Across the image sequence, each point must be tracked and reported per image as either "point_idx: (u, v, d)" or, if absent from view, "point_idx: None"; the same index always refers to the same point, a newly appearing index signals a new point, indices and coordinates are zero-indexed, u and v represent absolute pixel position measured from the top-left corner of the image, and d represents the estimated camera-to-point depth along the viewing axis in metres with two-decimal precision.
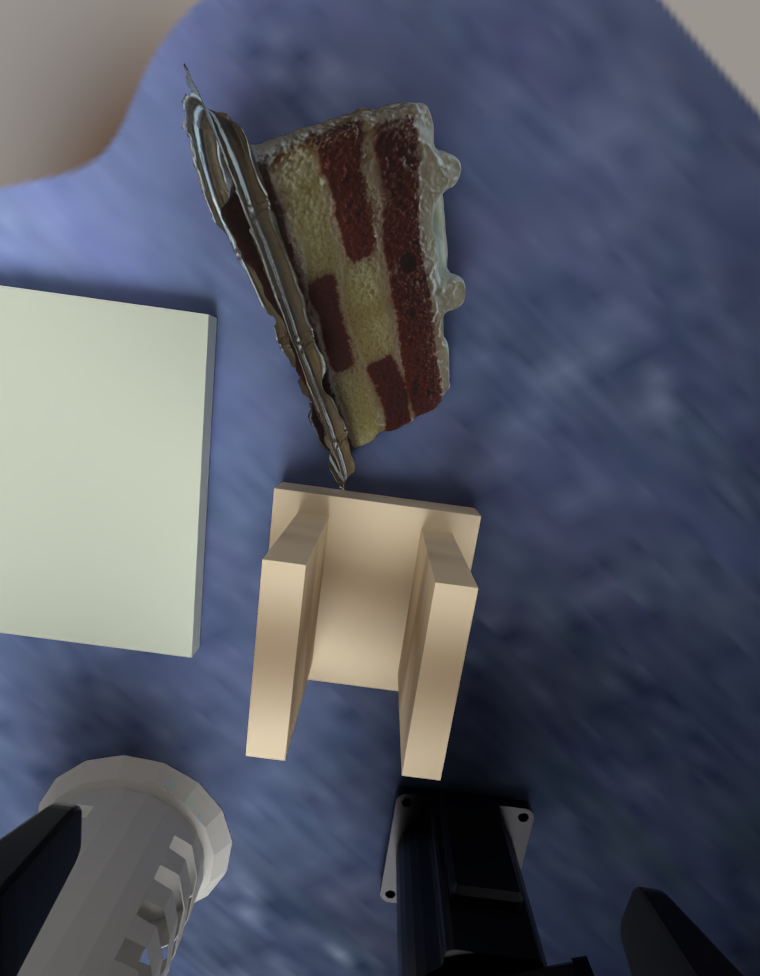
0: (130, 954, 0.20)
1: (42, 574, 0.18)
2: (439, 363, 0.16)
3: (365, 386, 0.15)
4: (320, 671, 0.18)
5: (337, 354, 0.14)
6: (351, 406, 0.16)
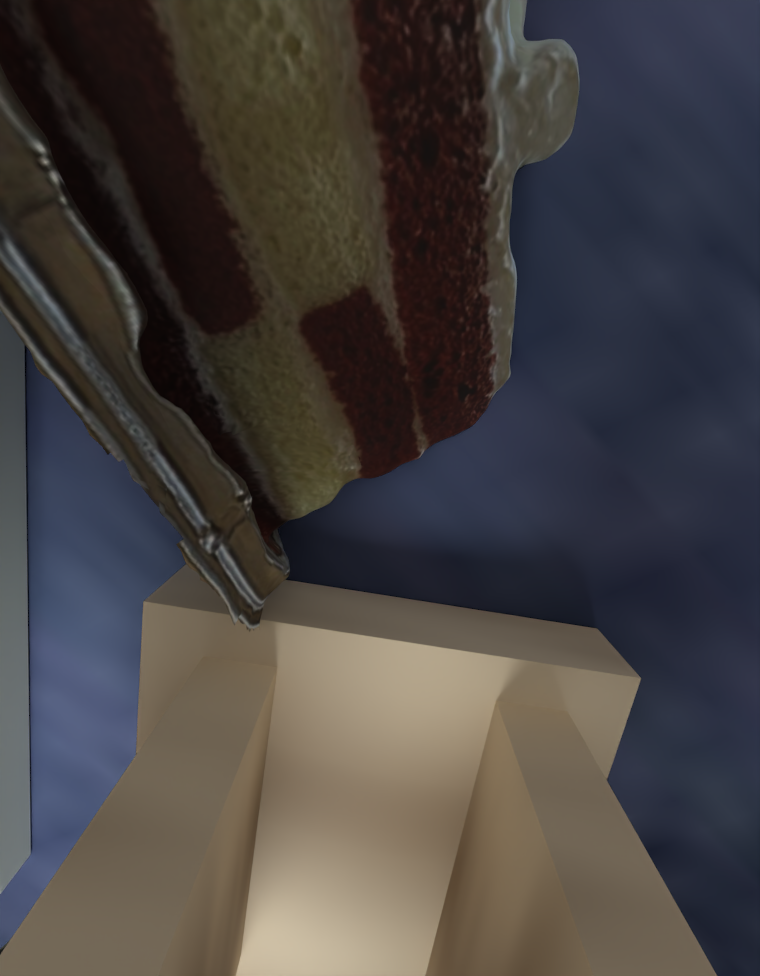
0: None
1: None
2: (494, 317, 0.06)
3: (299, 375, 0.06)
4: (258, 971, 0.09)
5: (204, 279, 0.05)
6: (267, 428, 0.06)
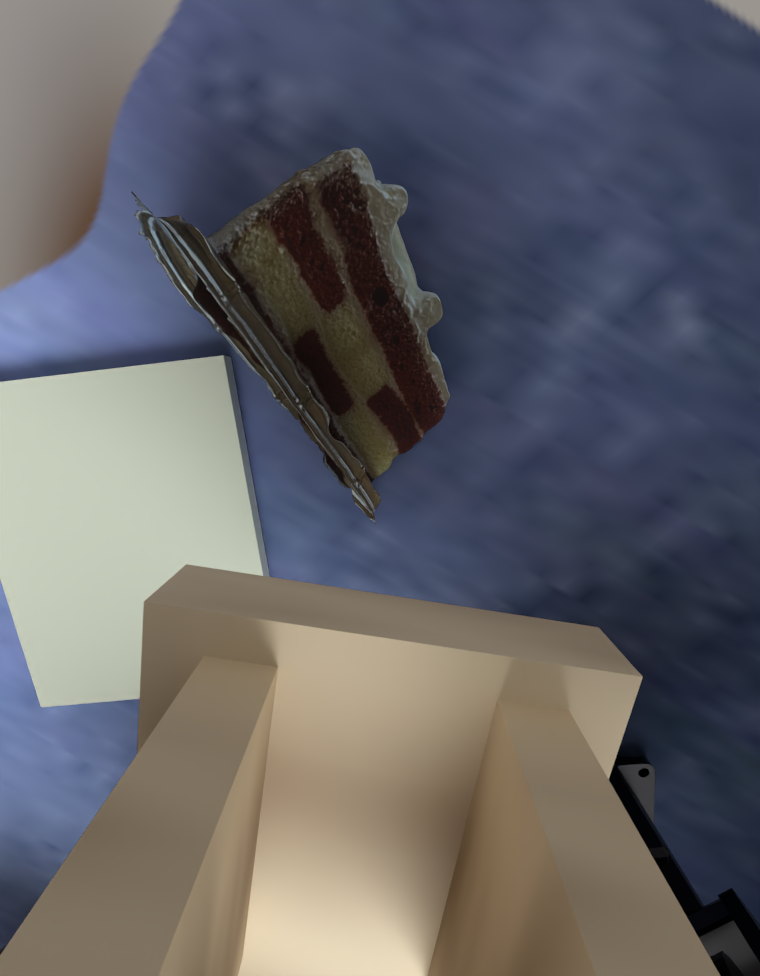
0: None
1: (127, 638, 0.19)
2: (435, 378, 0.16)
3: (369, 420, 0.16)
4: (261, 972, 0.09)
5: (336, 399, 0.15)
6: (361, 442, 0.16)
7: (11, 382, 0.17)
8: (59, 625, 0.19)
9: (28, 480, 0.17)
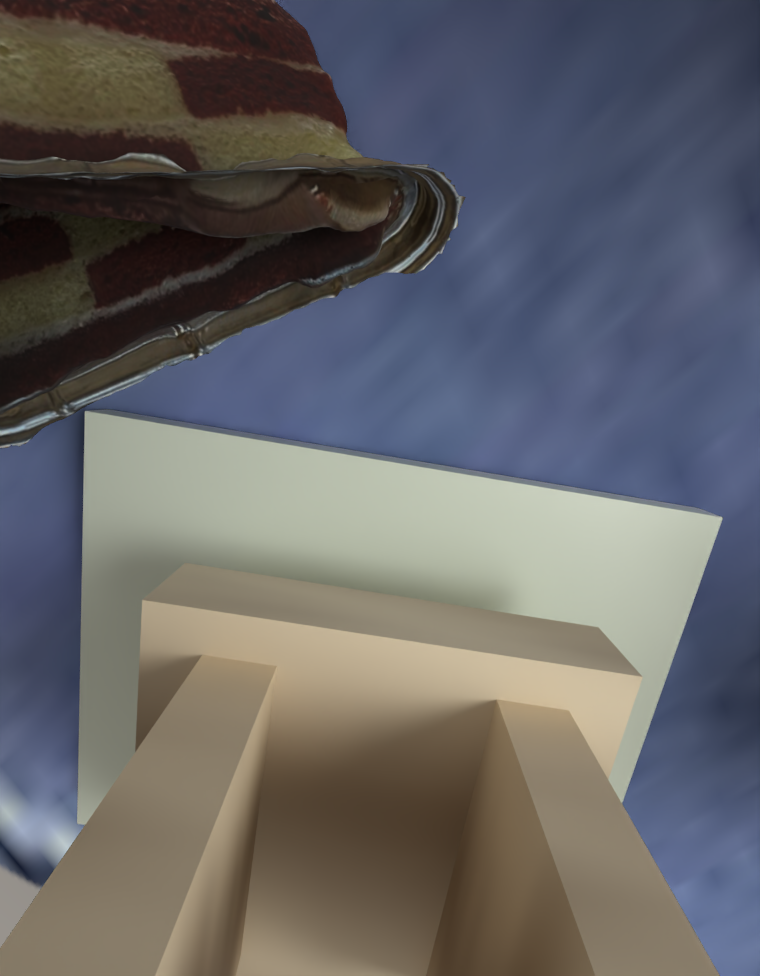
0: None
1: None
2: None
3: (238, 130, 0.07)
4: (258, 972, 0.09)
5: None
6: None
7: (81, 735, 0.11)
8: None
9: None
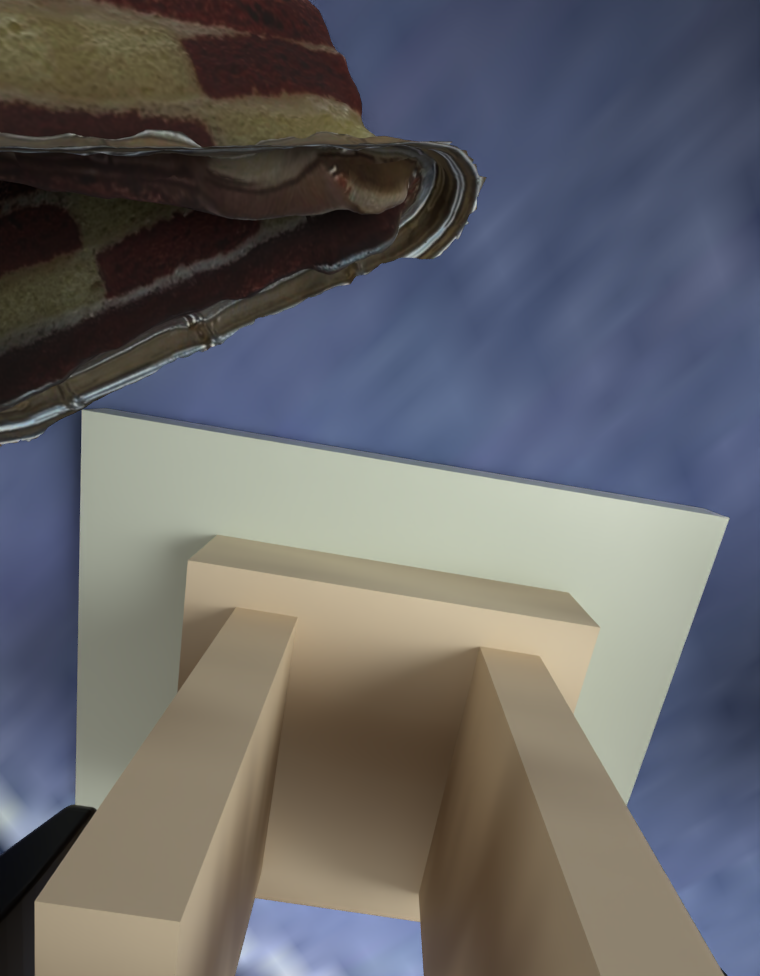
0: None
1: None
2: None
3: (254, 111, 0.07)
4: (276, 885, 0.10)
5: None
6: None
7: (79, 738, 0.11)
8: None
9: None
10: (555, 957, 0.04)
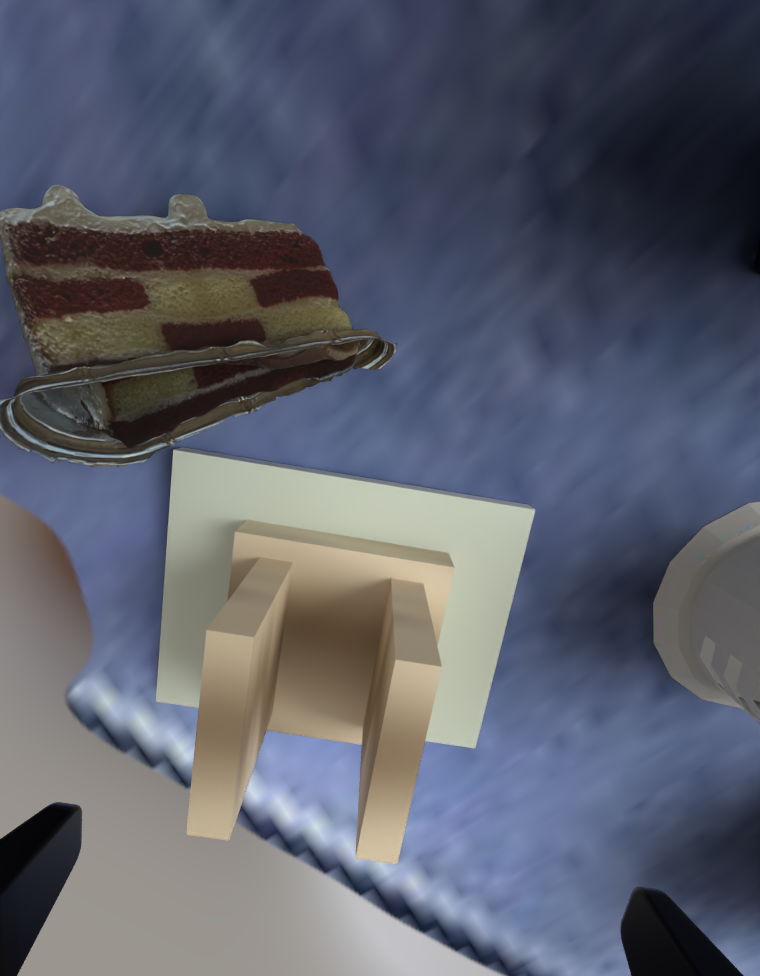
0: None
1: None
2: (264, 229, 0.15)
3: (283, 311, 0.15)
4: (281, 722, 0.17)
5: (246, 335, 0.14)
6: (304, 329, 0.15)
7: (161, 643, 0.18)
8: None
9: None
10: (390, 670, 0.12)
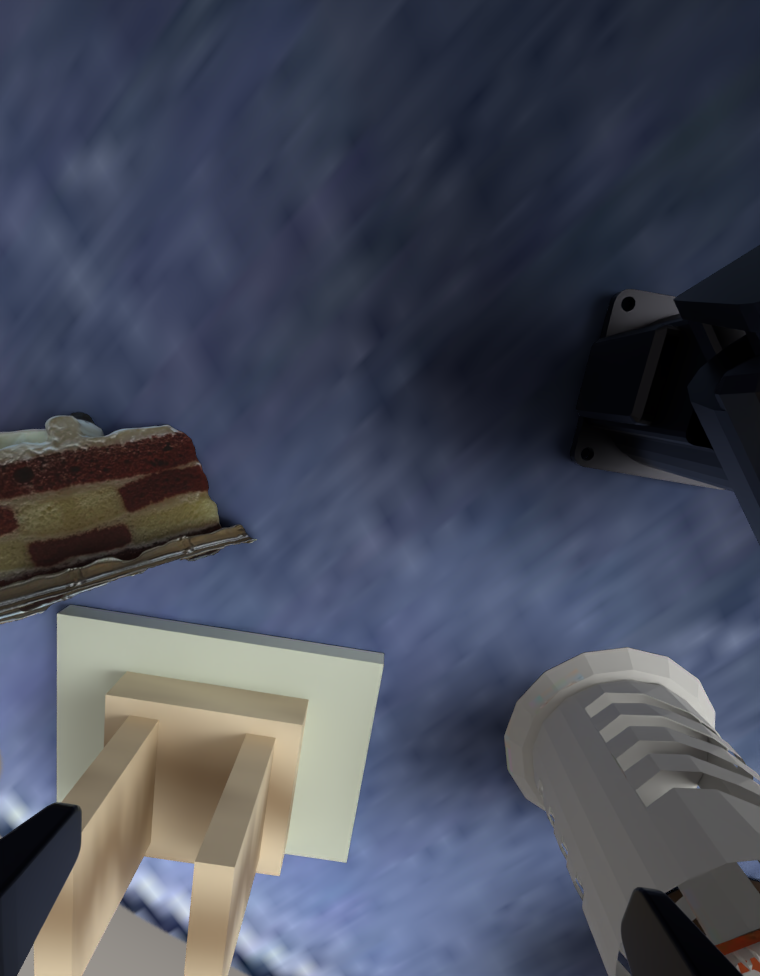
0: None
1: (298, 774, 0.20)
2: (135, 438, 0.17)
3: (149, 513, 0.16)
4: (159, 850, 0.19)
5: (112, 539, 0.16)
6: (169, 526, 0.17)
7: (58, 772, 0.20)
8: None
9: None
10: None
